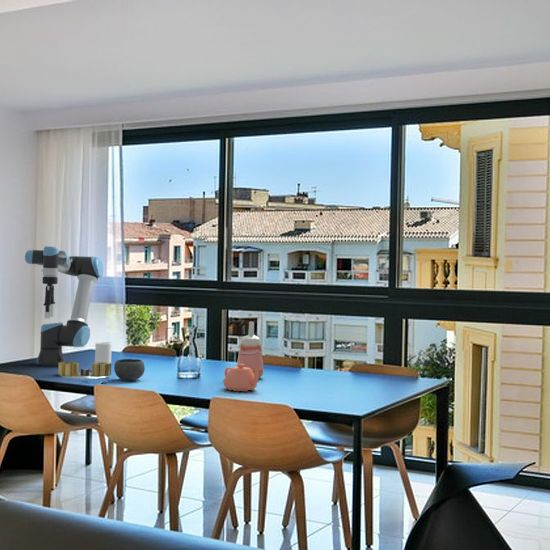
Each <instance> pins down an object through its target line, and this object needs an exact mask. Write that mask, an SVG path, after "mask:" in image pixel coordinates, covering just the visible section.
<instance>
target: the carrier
mask: <svg viewBox="0 0 550 550" xmlns="http://www.w3.org/2000/svg"><path fill="white" fill-rule="evenodd" d="M61 377H62V378H66V379H82V380H81V381H82V382H81V383H83V382H84V383H85V382H86V383H89V382H88V381H89V379H90V380H91V379H102V378H106V377H108V380H109V379H110V377H109V376H104V377H101V376H92V375H91V371H90V368H86V367H85V368H80V371H78V375H76V376H61ZM83 379H84V380H83ZM85 379H88V380H85Z"/></svg>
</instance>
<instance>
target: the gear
mask: <svg viewBox="0 0 550 550" xmlns="http://www.w3.org/2000/svg"><path fill="white" fill-rule="evenodd" d="M79 364H80V363H79V362H78V361H65V362H61V363H59V366H58V368H57V369H58V371H57V372H58V374H57V375H58V376H60V377H62V376H76V375H78V372H79Z"/></svg>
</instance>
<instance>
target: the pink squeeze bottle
mask: <svg viewBox="0 0 550 550" xmlns="http://www.w3.org/2000/svg"><path fill="white" fill-rule="evenodd" d="M239 345H240V346H239V350H238V357H237V362H236V367H238V364H244V367H248V368H250V369H251V370H252V371H253V373H254V375H255V371H256V369H257V368H261V367H262V368H261V369H260V371H259V377H260V378H261V376H262V377H263V376H264V361H263V351H262V341H261V338H260V337H259V336H257V335H255V322H254V321H249V322H248V333H247V335H244V336H243V337H242V338H241V340H240V344H239Z"/></svg>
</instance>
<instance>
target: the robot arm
mask: <svg viewBox="0 0 550 550" xmlns="http://www.w3.org/2000/svg"><path fill="white" fill-rule="evenodd" d="M59 249H60V248H59V247H58V246H44V247H43V250H41V249H28V250H26V252H25V254H24V260H25V262H26V263H27V264H30V265H36V266H37V265H38V266H42V269H41V272H42V284H43V285H45V297H44V303H43V307H44V319H48V320H49V319H51V317H52V318H53V317H54V306H55V304H56V302H55V299H54V298H55V297H54V296H55V295H54V294H55V286H54V285H57V284H58V281H59V279H58V276H59V273H61V274H65V275H68V276H71V277H76V279H78V283H77V288H76V293H75V297H74V303H73V306H72V310H71V311H72V312H71V315H70V319H68V320H67V321H66V324H65V325H64V324H63V322H51V323H44V324H42V325H41V326H40V327H41V328H40V347H39V349H40V350H39V353H38V356H37V358H36V365H37V366H46V367H55V366H59V363H61V362H66V361H65V356H64V353H63V347H73V348H82V347H85V346H86V345H87V344H88V343H89V340H90V337H91V328H90V327H89V324H88V322H87V319H88V314H89V308H90V305H91V299H92V297H93V296H92V295H93V290H94V287H95V286H94V285H95V283H97V282H98V280H99V278H103V275H104V265H103V261H102V259H101V258H100V257H97V256H82V255H81V256H79V255H78V256H77V255H75V256H74V255H73V256H70V254H69V253H68V252H67V251H64V250H59Z"/></svg>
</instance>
